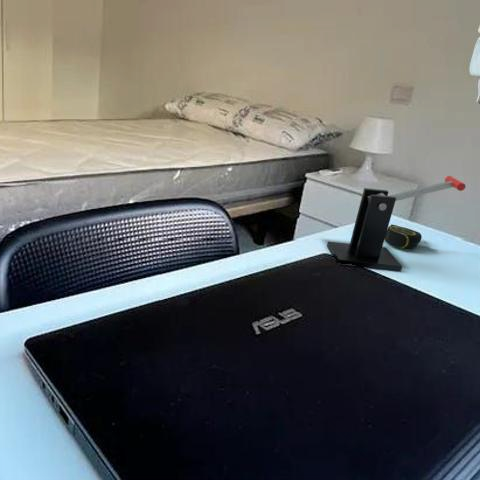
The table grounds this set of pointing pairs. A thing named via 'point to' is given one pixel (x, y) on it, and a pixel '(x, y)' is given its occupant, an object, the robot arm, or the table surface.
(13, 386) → the table surface
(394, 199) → the bracket
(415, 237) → the tape measure
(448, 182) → the lever
